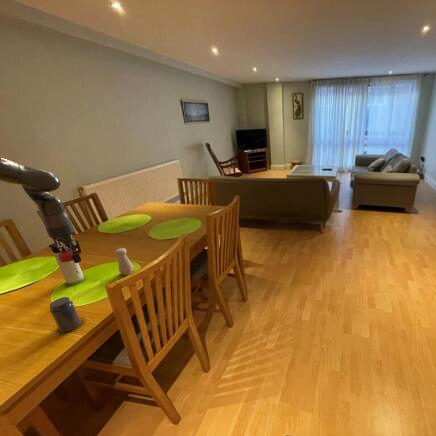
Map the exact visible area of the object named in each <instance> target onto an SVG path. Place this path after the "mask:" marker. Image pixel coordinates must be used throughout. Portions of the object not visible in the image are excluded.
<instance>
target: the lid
mask: <svg viewBox="0 0 436 436" xmlns="http://www.w3.org/2000/svg"><path fill="white" fill-rule="evenodd" d="M71 251H72V250H71ZM79 255H80V256H82V255H81V253H79ZM58 258H59V260H60V261H61V262H69V261H73V258H72V255H71V254H70V253H69V251H64V252H62V253H60V254H59V255H58Z"/></svg>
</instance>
